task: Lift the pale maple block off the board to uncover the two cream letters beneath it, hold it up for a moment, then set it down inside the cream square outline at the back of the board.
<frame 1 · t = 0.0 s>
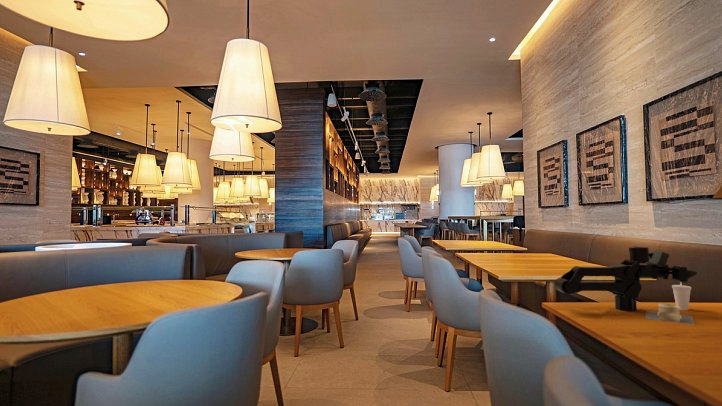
hand: (687, 271, 153), 17 cm above the table, tool horizontal, fingers open, 9 cm apart
maple block: (669, 318, 139), point 1 cm above the table, touching code board
smoothie: (682, 309, 157), on the table
code board: (669, 319, 141), on the table
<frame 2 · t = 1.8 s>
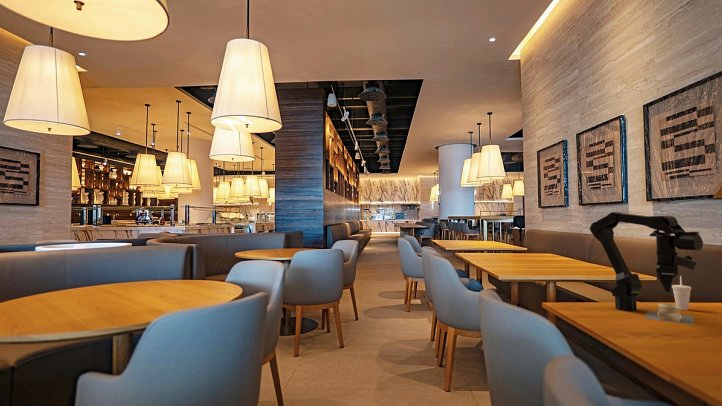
hand: (667, 290, 140), 12 cm above the table, tool pointing down, fingers open, 9 cm apart
nothing on the table moved.
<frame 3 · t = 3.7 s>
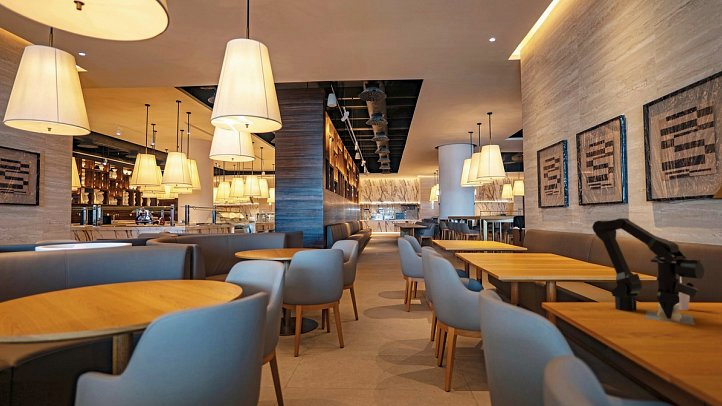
hand: (669, 316, 139), 2 cm above the table, tool pointing down, fingers closed on maple block, 6 cm apart
maple block: (669, 318, 139), point 1 cm above the table, touching code board, gripper
everything else where it was.
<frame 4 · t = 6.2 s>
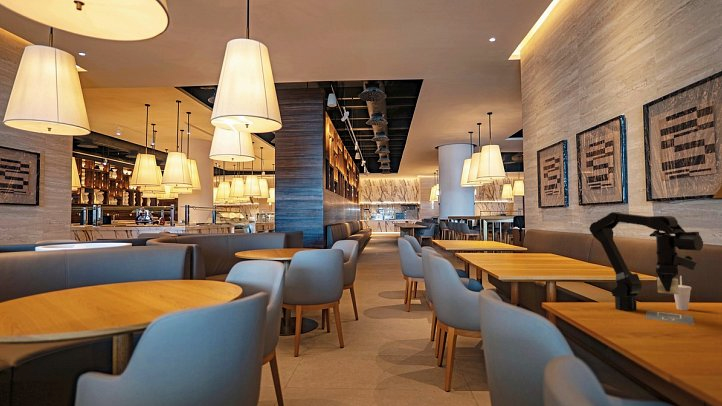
hand: (667, 290, 140), 12 cm above the table, tool pointing down, fingers closed on maple block, 6 cm apart
maple block: (668, 292, 140), point 11 cm above the table, touching gripper
everything else where it was.
when the fingers open (3 cm above the table, at t = 8.8 s): maple block drops 1 cm, resting on code board.
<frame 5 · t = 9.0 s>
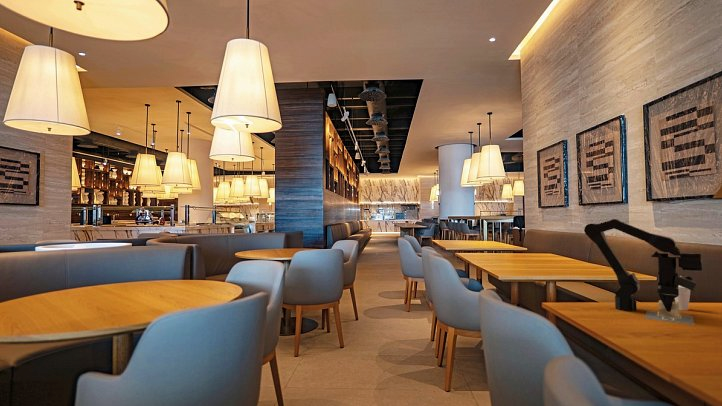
hand: (668, 309, 144), 3 cm above the table, tool pointing down, fingers open, 8 cm apart
maple block: (669, 315, 144), point 1 cm above the table, touching code board
everything else where it was.
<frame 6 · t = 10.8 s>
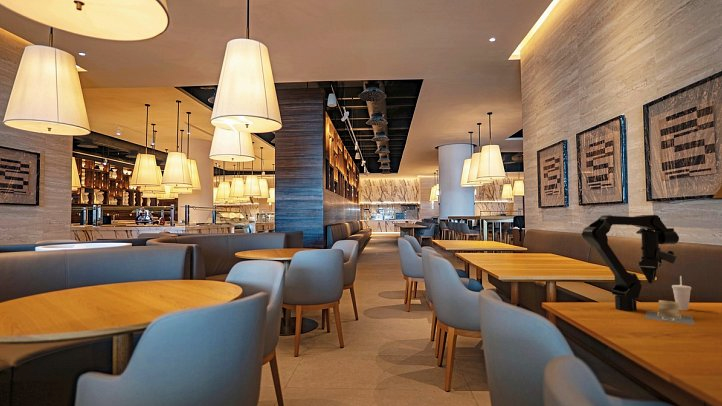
hand: (651, 281, 155), 12 cm above the table, tool pointing down, fingers open, 9 cm apart
nothing on the table moved.
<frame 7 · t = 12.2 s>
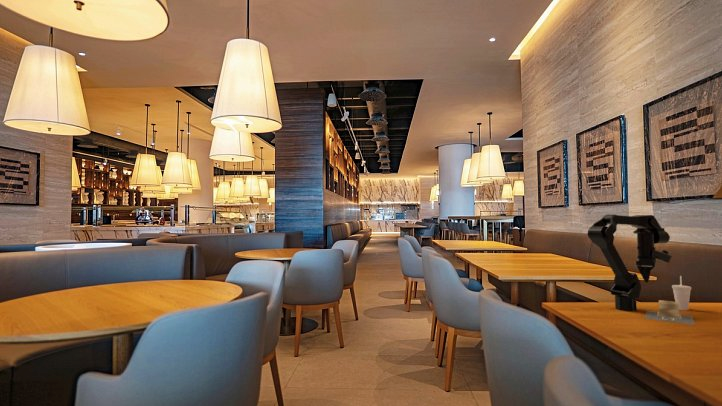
hand: (647, 280, 158), 12 cm above the table, tool pointing down, fingers open, 9 cm apart
nothing on the table moved.
at the end: maple block 0.1 cm from the target spot on the code board, point 0.8 cm above the code board's base; maple block tilted 0°; the gripper is holding nothing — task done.
